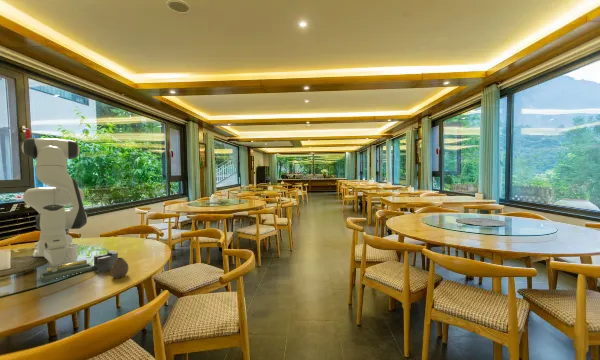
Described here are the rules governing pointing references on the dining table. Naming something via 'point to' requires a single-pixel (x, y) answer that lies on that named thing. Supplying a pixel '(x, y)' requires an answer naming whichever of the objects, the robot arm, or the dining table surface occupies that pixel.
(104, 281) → the dining table surface
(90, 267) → the tray
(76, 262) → the hitch pin
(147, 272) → the dining table surface
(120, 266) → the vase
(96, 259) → the hitch block
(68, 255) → the white cup
